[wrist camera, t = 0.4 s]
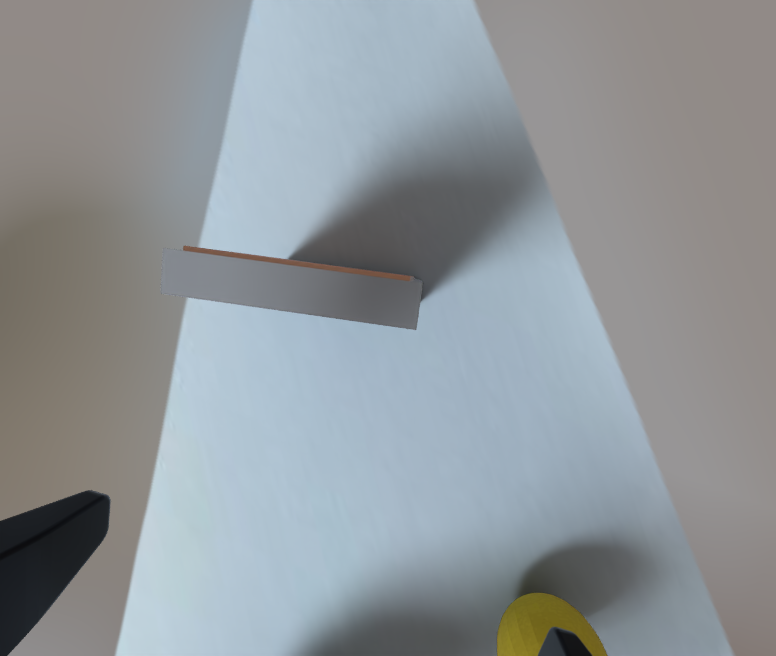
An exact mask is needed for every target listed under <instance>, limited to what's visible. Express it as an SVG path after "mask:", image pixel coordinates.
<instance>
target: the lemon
mask: <svg viewBox="0 0 776 656" xmlns="http://www.w3.org/2000/svg"><path fill="white" fill-rule="evenodd" d="M552 627H558V628H562V629H565V630H569V631H572V632H573V633H575V634H576V635H577V636H578V637H579V639H580V640H581V641H582V642H583V644H584V645H585V646H586V648H587V649H588V650H589V651H590V653H591V654H592V655H593V656H607V654H606V651H605V649H604V647H603V644H602V643H601V641H600V639H599V637H598V635H597V634H596V632H595V631H594V630H593V628H592V627H591V626H590V624H589V623H588V622H587V620H586V619H585V618H584V617H583V616H582V614H581V613H580V612H579V611H578V610H576V609H575V608H574V607H573V606H571V605H570V604H569V603H567V602H566V601H564V600H563V599H560V598H558V597H556V596H554V595H551V594H546V593H530V594H526V595H523V596H521V597H519V598H517V599H516V600H515V601H514V602H513V603H511V604H510V605H509V607H508V608H507V610H506V611H505V613H504V614H503V616H502V619H501V622H500V625H499V629H498V634H497V656H538V653H539V651H540V649H541V647H542V644H543V642H544V640H545V638H546V636H547V633H548V631H549V630H550V628H552Z"/></svg>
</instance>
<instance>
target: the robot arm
mask: <svg viewBox="0 0 776 656" xmlns="http://www.w3.org/2000/svg"><path fill="white" fill-rule="evenodd" d="M109 514H110V498H109V496H108V495H106V494H103V493H99V492H96V491H92V490H88V491H85V492H81V493H78V494H75V495H72V496H70V497H67V498H64V499H61V500H58V501H56V502H53V503H50V504H47V505H44V506H41V507H39V508H36V509H33V510H30V511H27V512H24V513H22V514H19V515H16V516H13V517H10V518H7V519H5V520H2V521H0V656H7V655H8V654H9V653H10V652H11V651H12V650H13V649H14V648H15V647H16V646H17V645H18V644H19V642H20V641H21V640H22V639H23V638H24V637H25V636H26V635H27V633H29V632H30V630H31V629H32V628H33V627H34V626H35V625H36V624H37V623H38V621H39V620H40V619H41V618H42V617H43V615H44V614H45V613H46V612H47V610H48V609H49V608H50V607H51V606H52V604H53V603H54V602H55V600H56V599H57V598H58V597H59V596H60V594H61V593H62V592H63V590H64V589H65V588H66V587H67V585H68V584H69V583H70V582H71V580H72V579H73V578H74V576H75V575H76V574H77V573H78V571H79V570H80V569H81V567H82V566H83V565H84V564H85V563H86V561H87V560H88V559H89V558H90V556H91V555H92V554H93V553H94V551H95V550H96V549H97V547H98V546H99V545H100V544H101V542H102V541H103V539H104V538H105V536H106V534H107V531H108V527H109ZM538 656H593V655H592V654H591V653H590V651H589V650H588V649H587V648H586V646H585V645H584V644H583V642H582V641H581V640H580V639H579V637H578V636H577V635H576V634H575V633H573V632H572V631H569V630H565V629H562V628H558V627H552V628H550V630H549V631H548V633H547V636H546V638H545V640H544V642H543V644H542V647H541V649H540V651H539V653H538Z"/></svg>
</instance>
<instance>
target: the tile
mask: <svg viewBox="0 0 776 656" xmlns="http://www.w3.org/2000/svg"><path fill="white" fill-rule="evenodd" d="M422 287H423V282H422V281H421V280H418V279H414V276H408V275H400V274H393V273H386V272H378V271H371V270H363V269H356V268H348V267H341V266H334V265H326V264H319V263H311V262H304V261H296V260H289V259H281V258H274V257H266V256H258V255H251V254H243V253H236V252H228V251H220V250H213V249H205V248H197V247H190V246H184V247H183V250H177V249H168V248H163V257H162V278H161V294H168V295H175V296H182V297H189V298H196V299H203V300H210V301H217V302H224V303H231V304H238V305H245V306H252V307H259V308H266V309H273V310H280V311H287V312H294V313H301V314H308V315H315V316H322V317H329V318H336V319H343V320H350V321H357V322H364V323H371V324H378V325H385V326H392V327H399V328H406V329H413V330H416V328H417V321H418V314H419V307H420V300H421V294H422Z"/></svg>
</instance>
